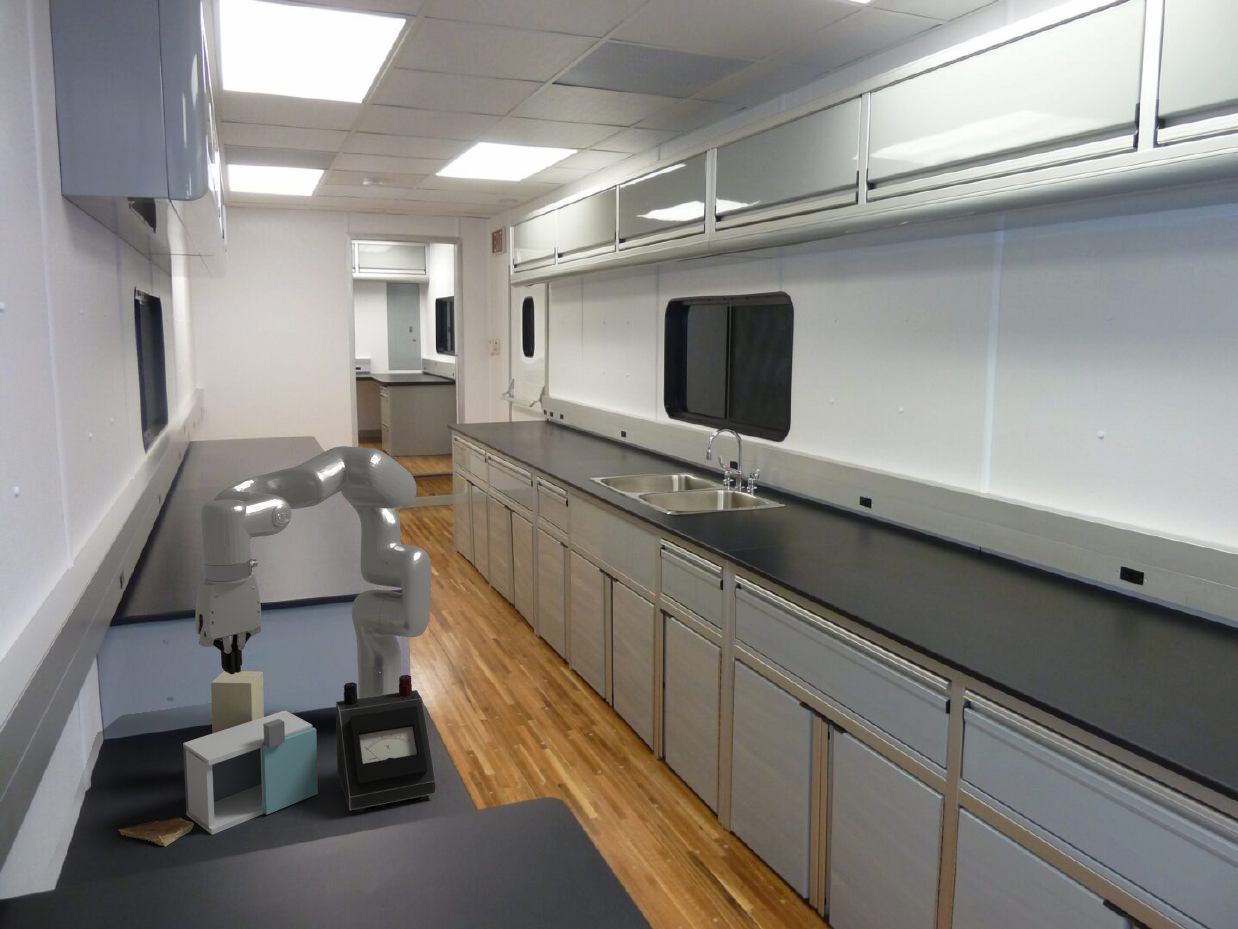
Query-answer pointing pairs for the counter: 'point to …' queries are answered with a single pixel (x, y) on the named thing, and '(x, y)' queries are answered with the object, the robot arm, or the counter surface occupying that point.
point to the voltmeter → (383, 747)
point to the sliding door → (288, 766)
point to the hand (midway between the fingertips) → (232, 671)
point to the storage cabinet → (229, 773)
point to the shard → (159, 830)
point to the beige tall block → (236, 699)
